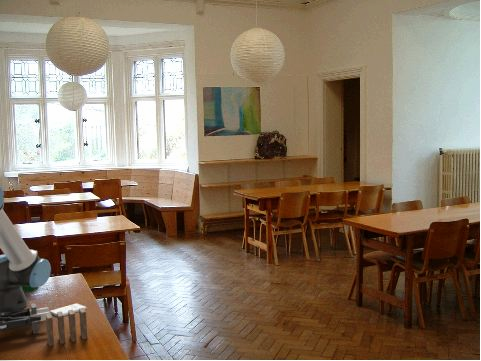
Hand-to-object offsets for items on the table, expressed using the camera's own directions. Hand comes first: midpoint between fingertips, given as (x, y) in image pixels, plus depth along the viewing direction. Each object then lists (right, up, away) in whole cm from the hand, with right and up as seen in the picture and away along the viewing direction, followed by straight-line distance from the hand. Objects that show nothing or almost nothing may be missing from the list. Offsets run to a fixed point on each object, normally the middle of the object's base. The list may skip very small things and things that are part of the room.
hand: (49, 313), depth 199 cm
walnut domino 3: (+12, -7, -9) cm, 17 cm away
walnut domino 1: (+5, -7, -13) cm, 15 cm away
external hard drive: (0, -5, +21) cm, 22 cm away
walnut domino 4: (+15, -7, -8) cm, 18 cm away
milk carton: (-30, -2, +55) cm, 62 cm away
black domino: (-5, -6, -2) cm, 8 cm away
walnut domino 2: (+9, -7, -11) cm, 16 cm away
